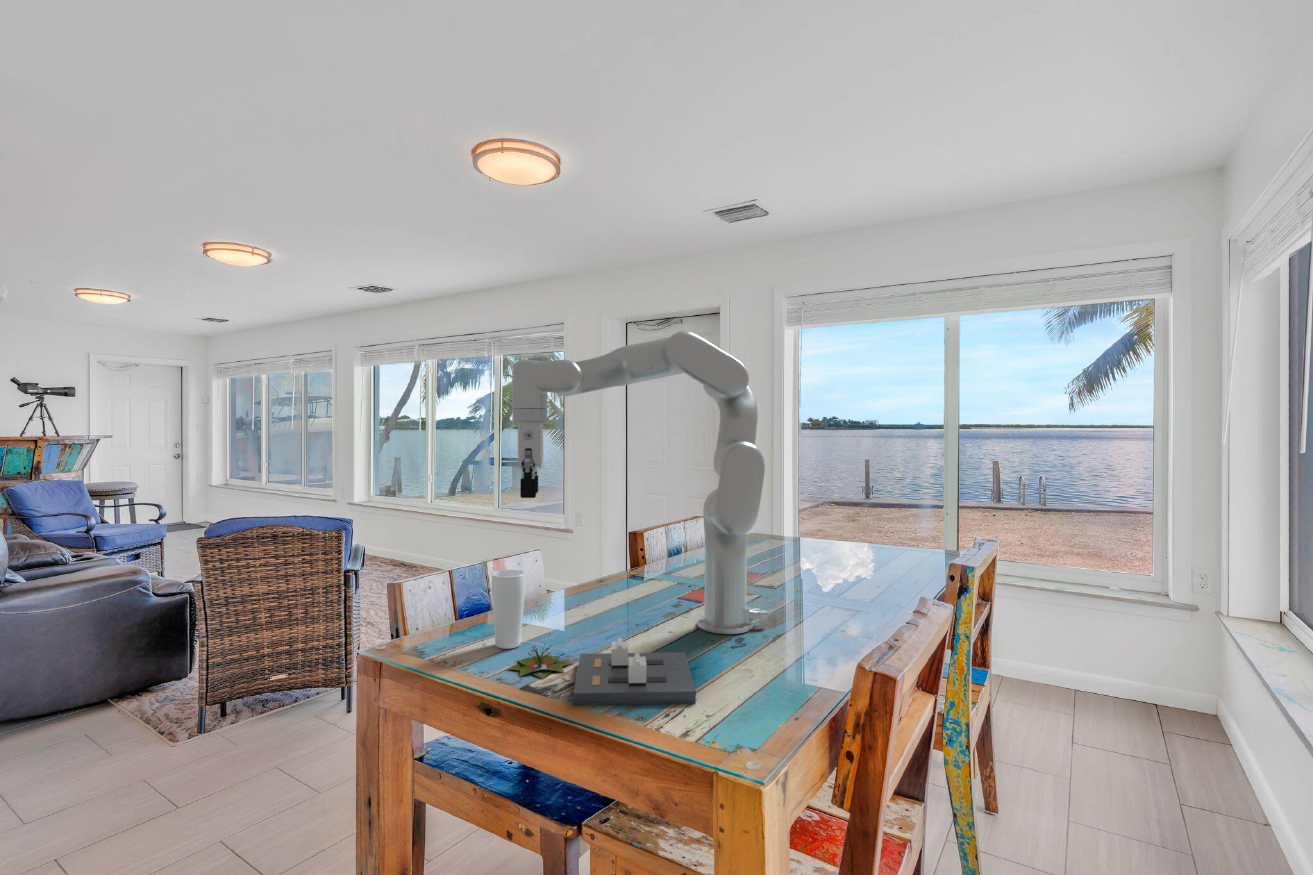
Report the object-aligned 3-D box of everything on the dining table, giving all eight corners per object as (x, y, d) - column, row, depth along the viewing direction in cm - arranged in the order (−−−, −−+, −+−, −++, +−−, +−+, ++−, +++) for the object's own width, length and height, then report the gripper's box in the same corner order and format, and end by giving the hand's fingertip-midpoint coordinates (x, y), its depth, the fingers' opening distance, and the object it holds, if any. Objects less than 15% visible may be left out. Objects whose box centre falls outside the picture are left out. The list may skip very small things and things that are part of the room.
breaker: (627, 657, 119) (627, 638, 119) (627, 665, 115) (628, 645, 115) (611, 657, 118) (611, 638, 118) (611, 665, 115) (611, 645, 114)
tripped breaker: (645, 673, 111) (645, 653, 111) (646, 682, 107) (646, 661, 107) (628, 673, 111) (628, 653, 111) (628, 683, 107) (628, 661, 107)
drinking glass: (531, 642, 133) (531, 571, 133) (511, 653, 127) (511, 578, 127) (505, 638, 136) (505, 568, 136) (484, 648, 130) (484, 574, 129)
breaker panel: (684, 662, 122) (684, 651, 122) (695, 703, 104) (695, 690, 104) (580, 664, 121) (580, 653, 121) (573, 705, 103) (573, 692, 103)
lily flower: (536, 653, 128) (536, 631, 128) (584, 665, 122) (584, 641, 122) (493, 673, 118) (493, 649, 118) (543, 687, 112) (543, 661, 112)
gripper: (545, 417, 131) (545, 499, 132) (548, 418, 148) (548, 491, 149) (508, 416, 130) (508, 499, 130) (515, 417, 147) (515, 491, 148)
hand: (529, 495), depth 140 cm, fingers open, 9 cm apart
